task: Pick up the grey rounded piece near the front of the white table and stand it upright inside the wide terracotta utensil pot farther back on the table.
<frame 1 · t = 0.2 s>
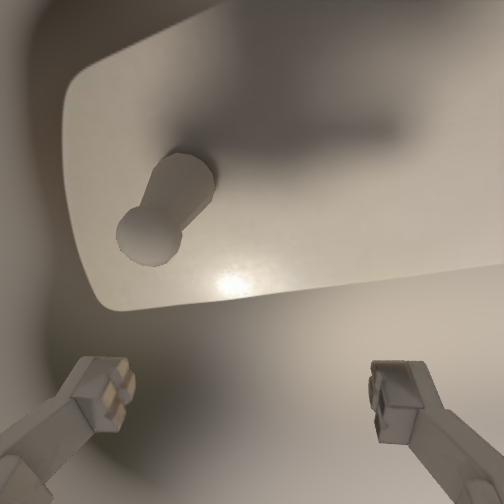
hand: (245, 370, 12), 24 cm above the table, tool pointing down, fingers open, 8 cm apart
grey rounded piece: (190, 175, 34), on the table
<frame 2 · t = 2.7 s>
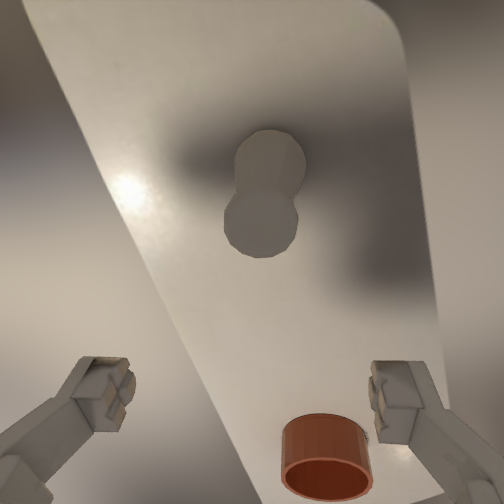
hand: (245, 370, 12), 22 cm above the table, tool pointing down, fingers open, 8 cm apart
grey rounded piece: (271, 156, 30), on the table
pot: (323, 437, 52), on the table
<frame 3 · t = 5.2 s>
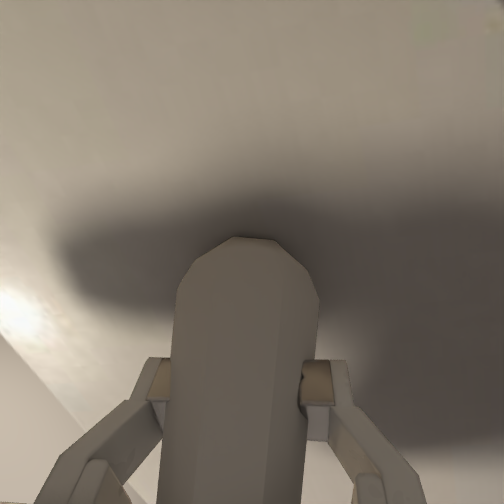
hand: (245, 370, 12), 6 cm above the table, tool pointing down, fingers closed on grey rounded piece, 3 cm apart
grey rounded piece: (250, 269, 16), on the table, touching gripper
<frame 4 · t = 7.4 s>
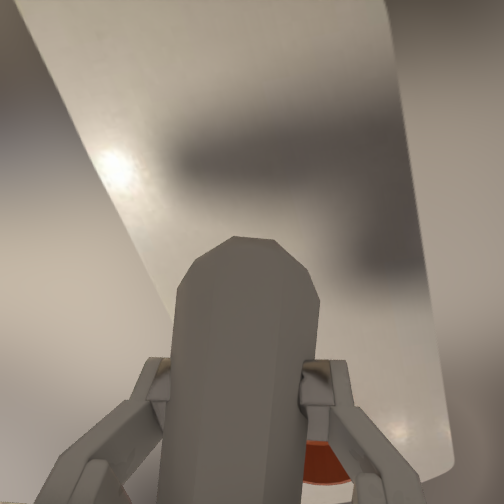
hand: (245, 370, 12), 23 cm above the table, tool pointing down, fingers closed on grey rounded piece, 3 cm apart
grey rounded piece: (251, 269, 16), point 17 cm above the table, touching gripper
pot: (318, 421, 52), on the table
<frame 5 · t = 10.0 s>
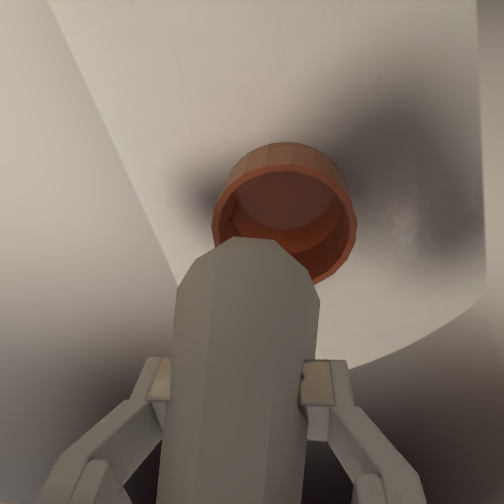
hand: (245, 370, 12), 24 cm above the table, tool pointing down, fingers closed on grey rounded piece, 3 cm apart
grey rounded piece: (251, 269, 16), point 18 cm above the table, touching gripper
pot: (283, 204, 34), on the table
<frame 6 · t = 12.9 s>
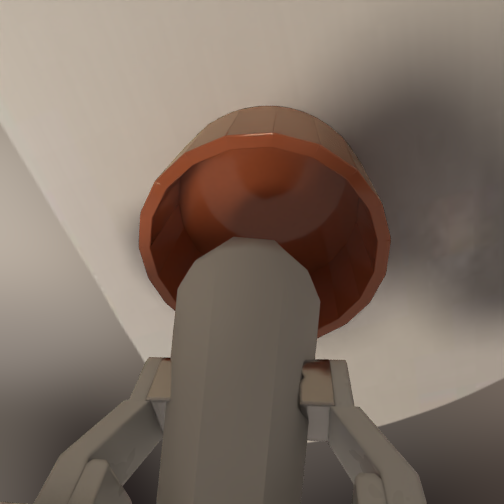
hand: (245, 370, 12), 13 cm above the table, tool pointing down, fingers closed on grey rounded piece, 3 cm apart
grey rounded piece: (251, 269, 16), point 7 cm above the table, touching gripper
pot: (267, 207, 22), on the table
when the fingers open (6 cm above the table, at t = 14.8 s): grey rounded piece stays where it is, resting on pot.
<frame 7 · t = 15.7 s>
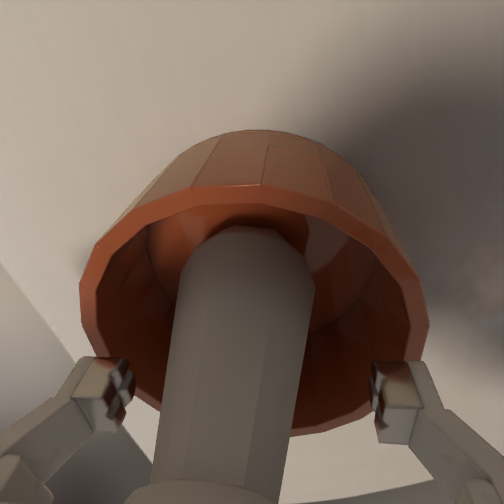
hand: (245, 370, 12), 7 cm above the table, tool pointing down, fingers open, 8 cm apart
grey rounded piece: (252, 257, 17), resting on pot
pot: (259, 254, 18), on the table
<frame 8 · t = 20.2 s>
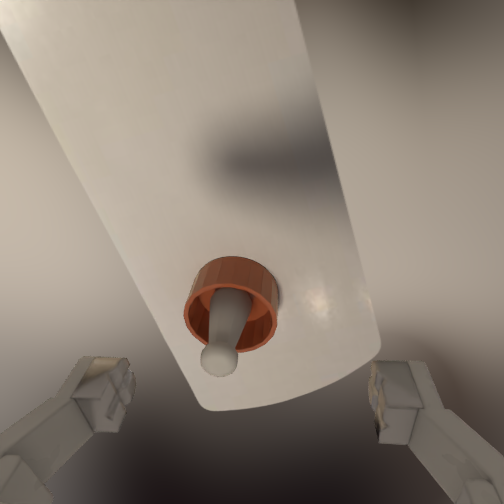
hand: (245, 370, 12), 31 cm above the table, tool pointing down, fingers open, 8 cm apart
grey rounded piece: (233, 292, 50), resting on pot
pot: (235, 291, 50), on the table
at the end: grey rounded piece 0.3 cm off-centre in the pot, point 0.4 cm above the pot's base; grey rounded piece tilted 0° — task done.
